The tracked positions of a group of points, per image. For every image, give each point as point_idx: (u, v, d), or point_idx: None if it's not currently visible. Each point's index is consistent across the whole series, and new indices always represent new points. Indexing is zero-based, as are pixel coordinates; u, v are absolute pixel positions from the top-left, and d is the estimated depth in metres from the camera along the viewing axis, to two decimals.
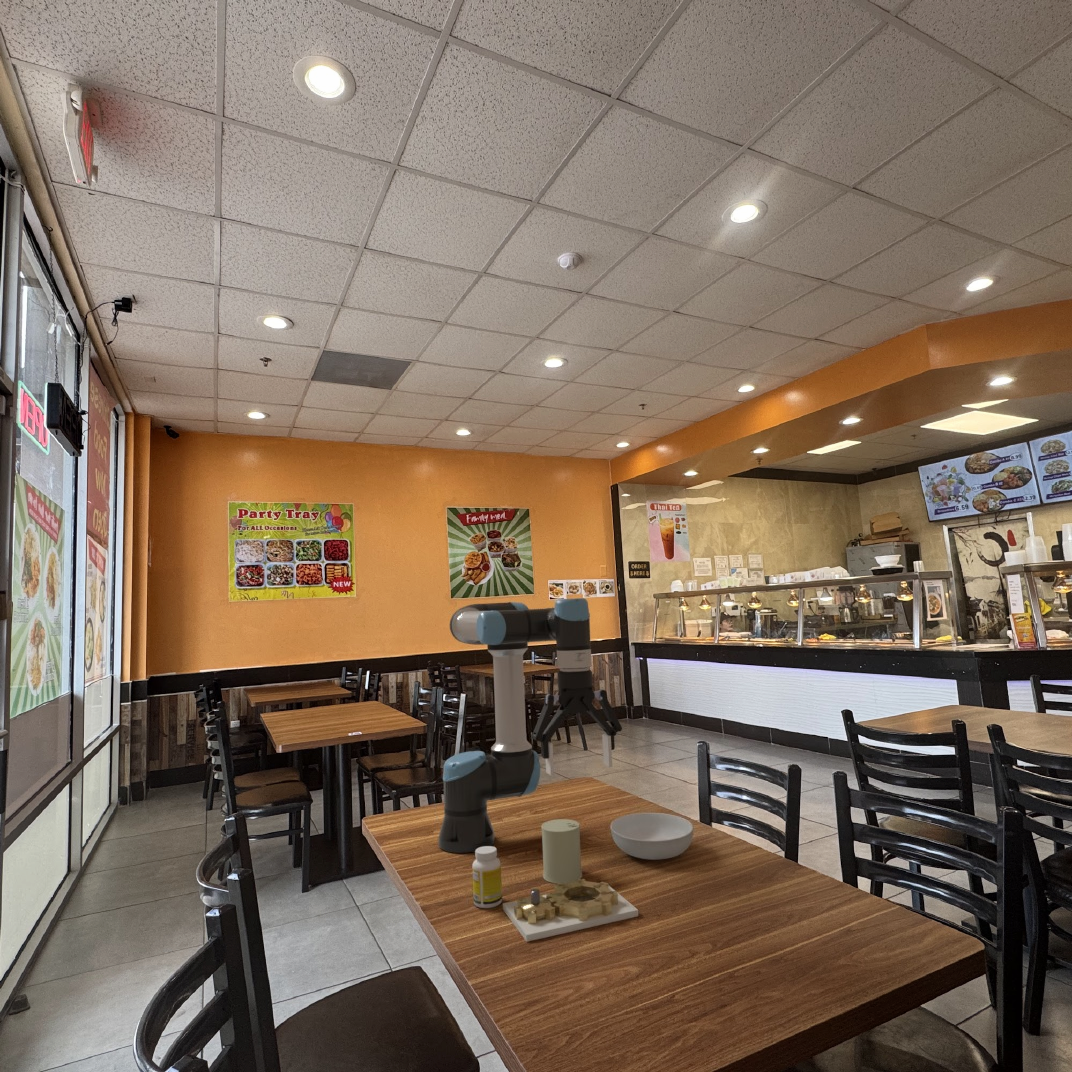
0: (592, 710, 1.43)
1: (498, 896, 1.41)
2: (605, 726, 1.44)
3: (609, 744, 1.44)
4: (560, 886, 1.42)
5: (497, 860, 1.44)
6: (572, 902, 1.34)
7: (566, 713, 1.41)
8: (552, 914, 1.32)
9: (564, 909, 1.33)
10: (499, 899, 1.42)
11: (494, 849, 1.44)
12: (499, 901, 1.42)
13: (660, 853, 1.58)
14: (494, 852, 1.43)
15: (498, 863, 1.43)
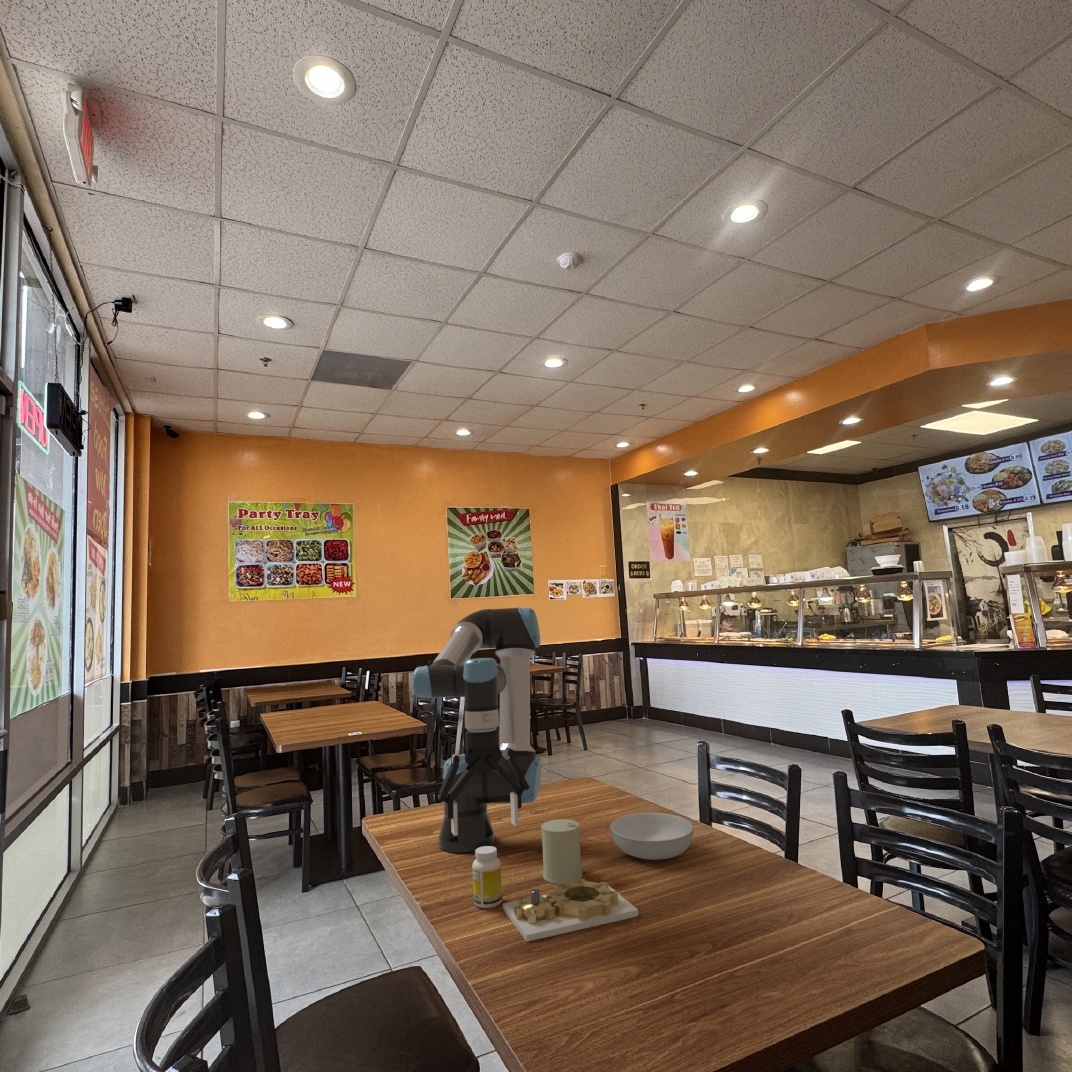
0: (498, 770, 1.46)
1: (498, 896, 1.41)
2: (512, 785, 1.47)
3: (515, 803, 1.46)
4: (560, 886, 1.42)
5: (497, 860, 1.44)
6: (572, 902, 1.34)
7: (471, 773, 1.43)
8: (552, 914, 1.32)
9: (564, 909, 1.33)
10: (499, 899, 1.42)
11: (494, 849, 1.44)
12: (499, 901, 1.42)
13: (660, 853, 1.58)
14: (494, 852, 1.43)
15: (498, 863, 1.43)
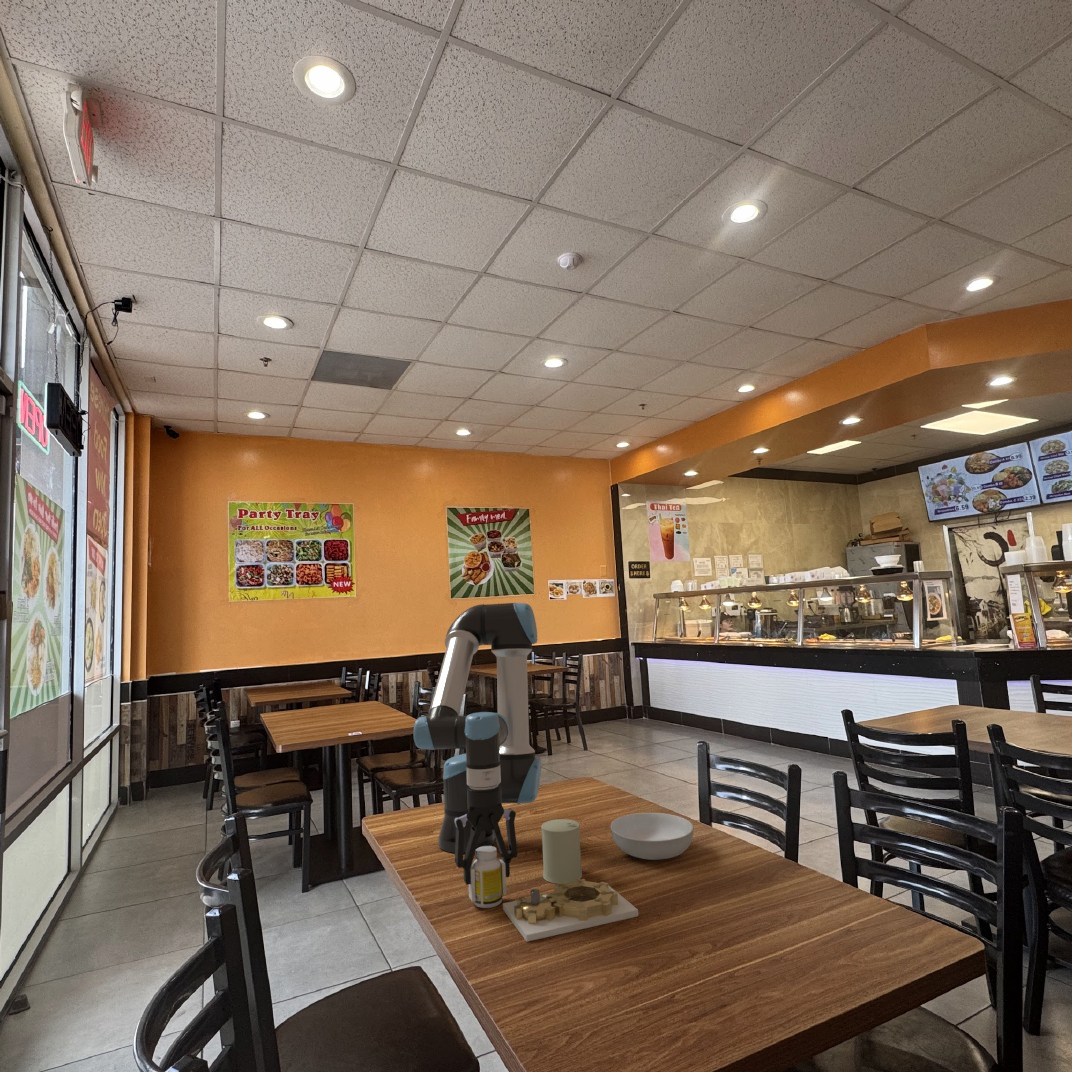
0: (496, 830, 1.44)
1: (498, 896, 1.41)
2: (502, 850, 1.44)
3: (503, 872, 1.44)
4: (560, 886, 1.42)
5: (497, 860, 1.44)
6: (572, 902, 1.34)
7: (478, 833, 1.42)
8: (552, 914, 1.32)
9: (564, 909, 1.33)
10: (499, 899, 1.42)
11: (494, 849, 1.44)
12: (499, 901, 1.42)
13: (660, 853, 1.58)
14: (494, 852, 1.43)
15: (498, 863, 1.43)
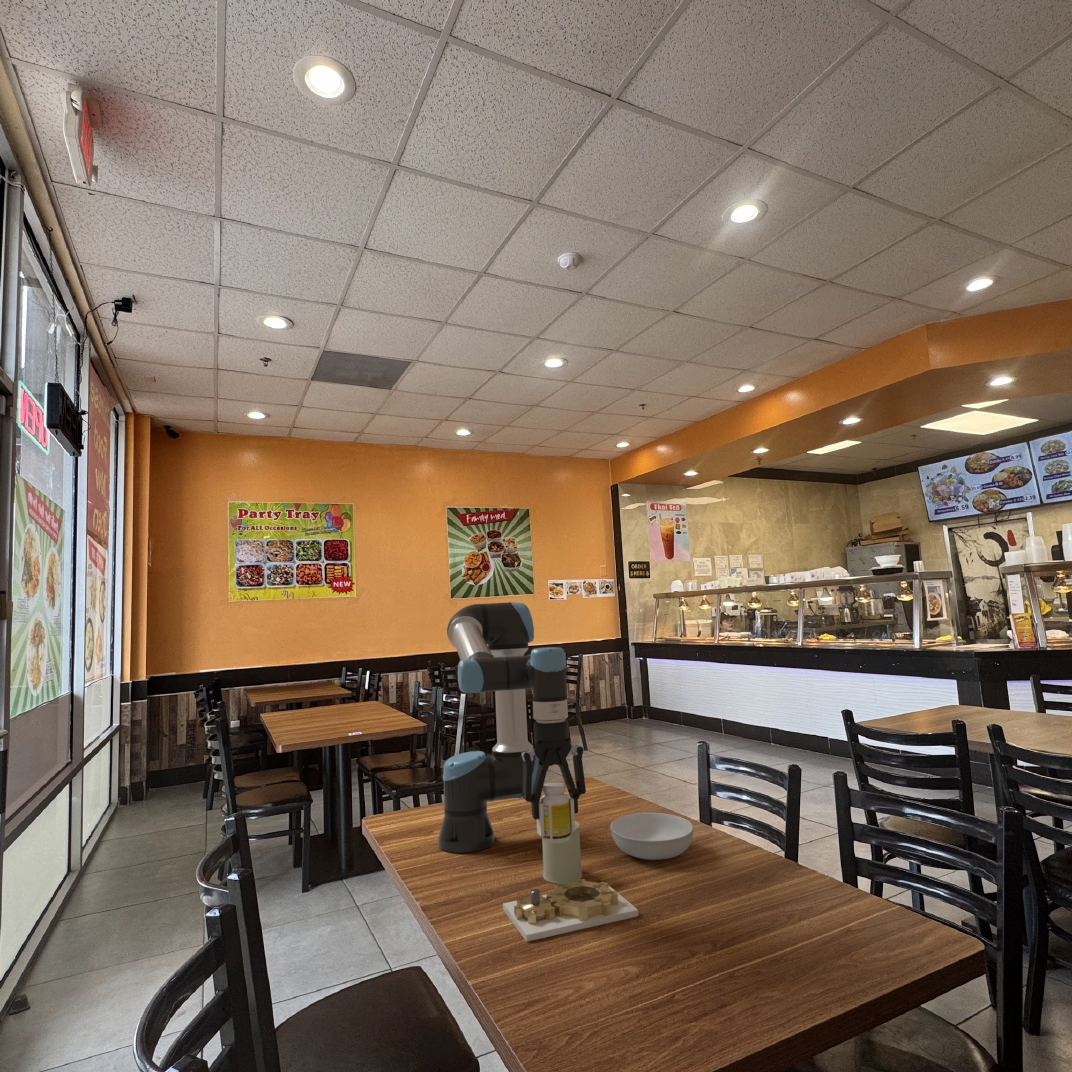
0: (564, 765, 1.41)
1: (567, 831, 1.38)
2: (571, 786, 1.41)
3: (572, 808, 1.41)
4: (560, 886, 1.42)
5: (565, 795, 1.41)
6: (572, 902, 1.34)
7: (546, 767, 1.40)
8: (552, 914, 1.32)
9: (564, 909, 1.33)
10: (568, 835, 1.38)
11: (562, 784, 1.41)
12: (568, 837, 1.38)
13: (660, 853, 1.58)
14: (562, 787, 1.40)
15: (567, 798, 1.40)
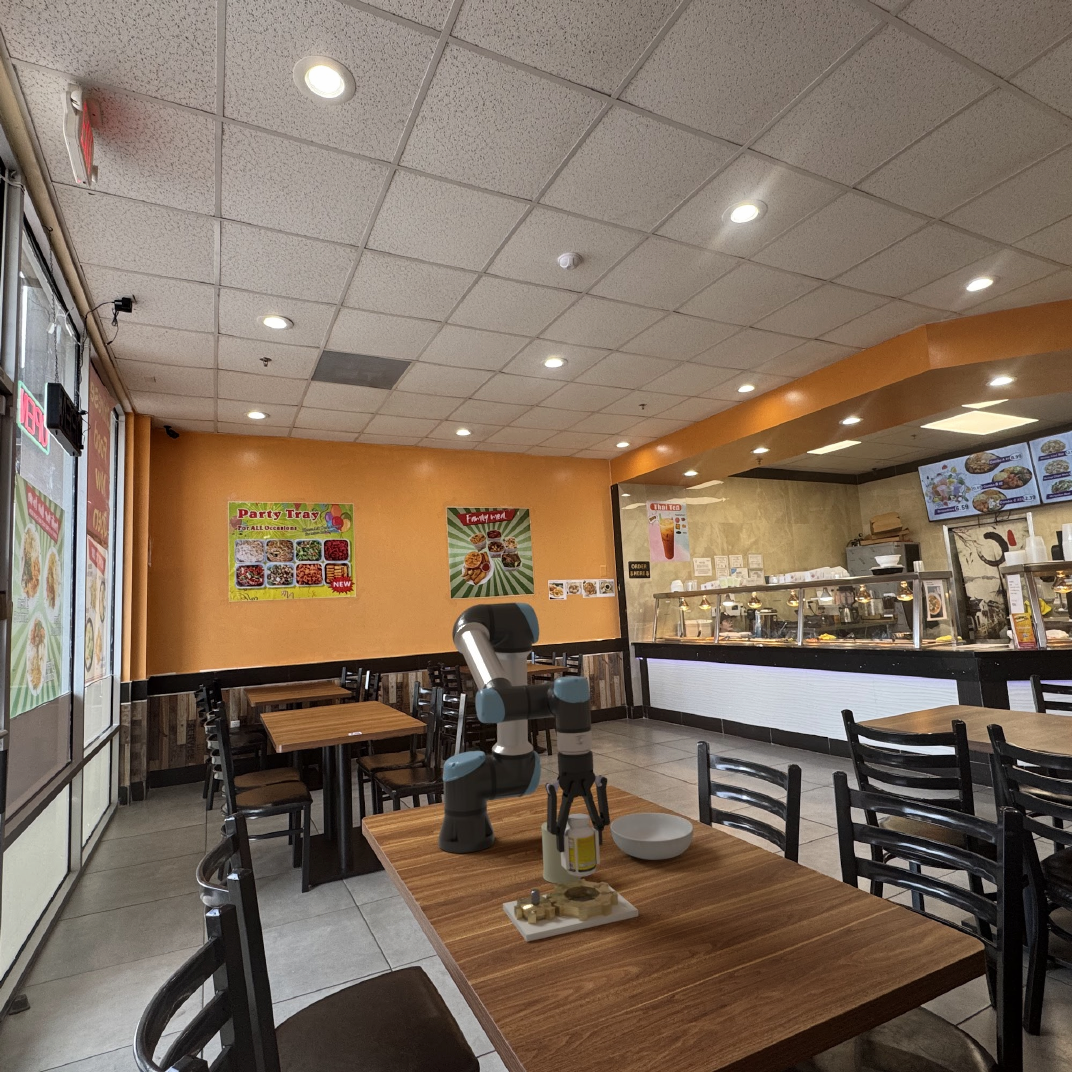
0: (588, 796, 1.39)
1: (592, 864, 1.37)
2: (595, 818, 1.40)
3: (597, 839, 1.39)
4: (560, 886, 1.42)
5: (590, 827, 1.39)
6: (572, 902, 1.34)
7: (571, 799, 1.38)
8: (552, 914, 1.32)
9: (564, 909, 1.33)
10: (594, 867, 1.37)
11: (587, 816, 1.40)
12: (594, 869, 1.37)
13: (660, 853, 1.58)
14: (588, 819, 1.39)
15: (592, 830, 1.39)
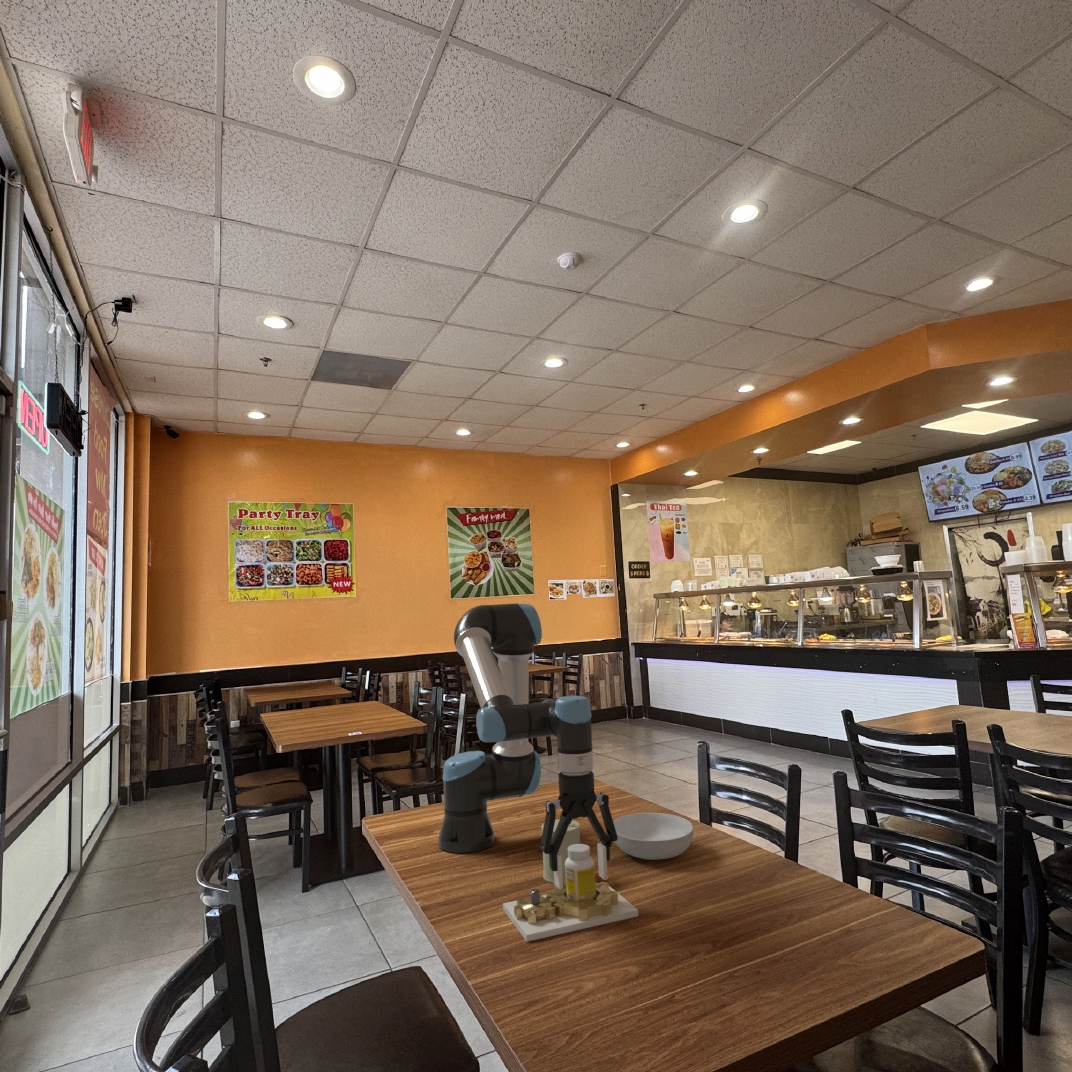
0: (591, 816, 1.39)
1: (593, 896, 1.36)
2: (601, 835, 1.40)
3: (604, 855, 1.40)
4: None
5: (590, 858, 1.39)
6: (572, 902, 1.34)
7: (570, 820, 1.37)
8: (552, 914, 1.32)
9: (564, 909, 1.33)
10: None
11: (587, 847, 1.39)
12: None
13: (660, 853, 1.58)
14: (588, 850, 1.38)
15: (592, 861, 1.38)
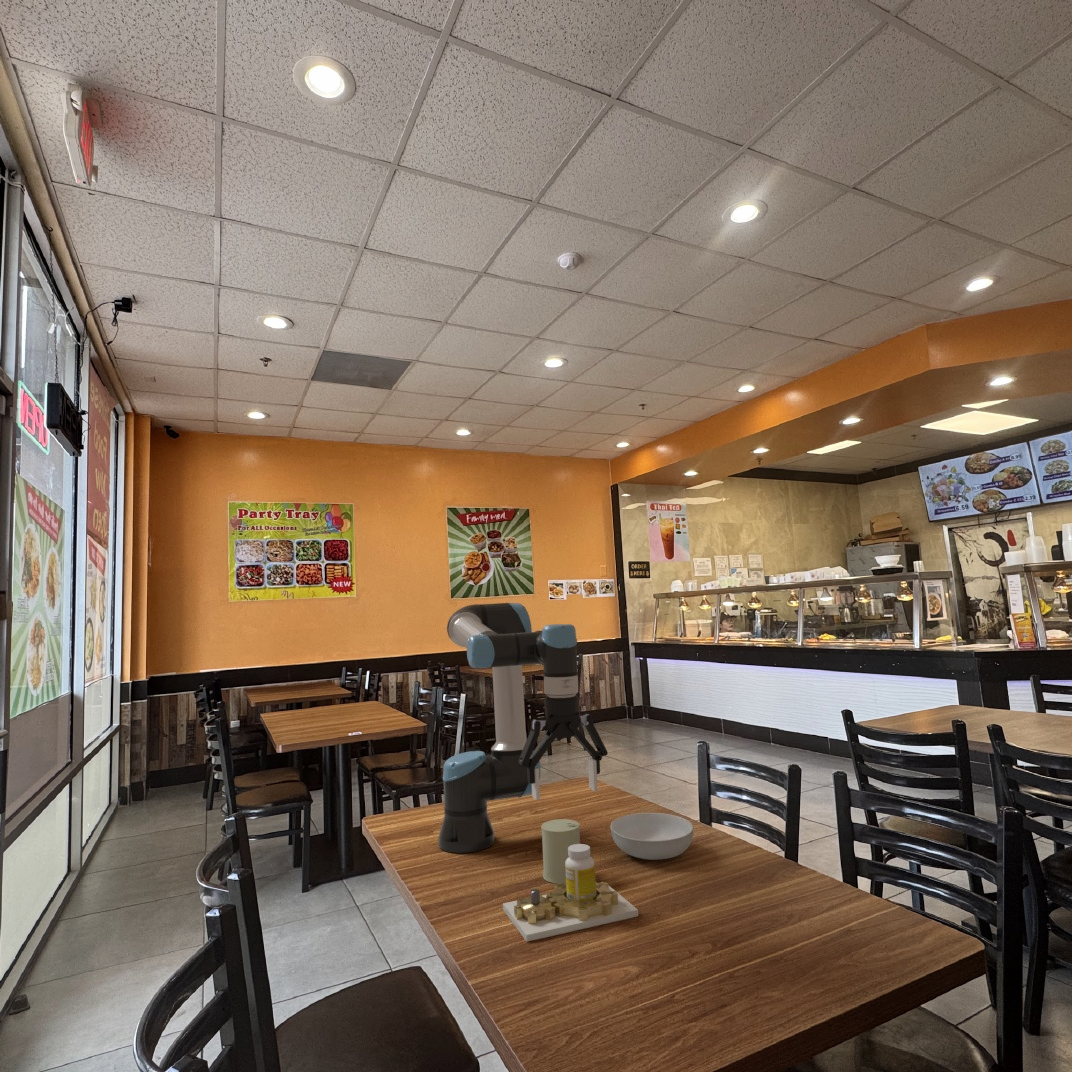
0: (578, 735, 1.45)
1: (593, 896, 1.36)
2: (591, 751, 1.46)
3: (594, 768, 1.46)
4: (560, 886, 1.42)
5: (591, 858, 1.39)
6: (572, 902, 1.34)
7: (552, 739, 1.43)
8: (552, 914, 1.32)
9: (564, 909, 1.33)
10: None
11: (587, 847, 1.39)
12: None
13: (660, 853, 1.58)
14: (588, 850, 1.38)
15: (592, 861, 1.38)
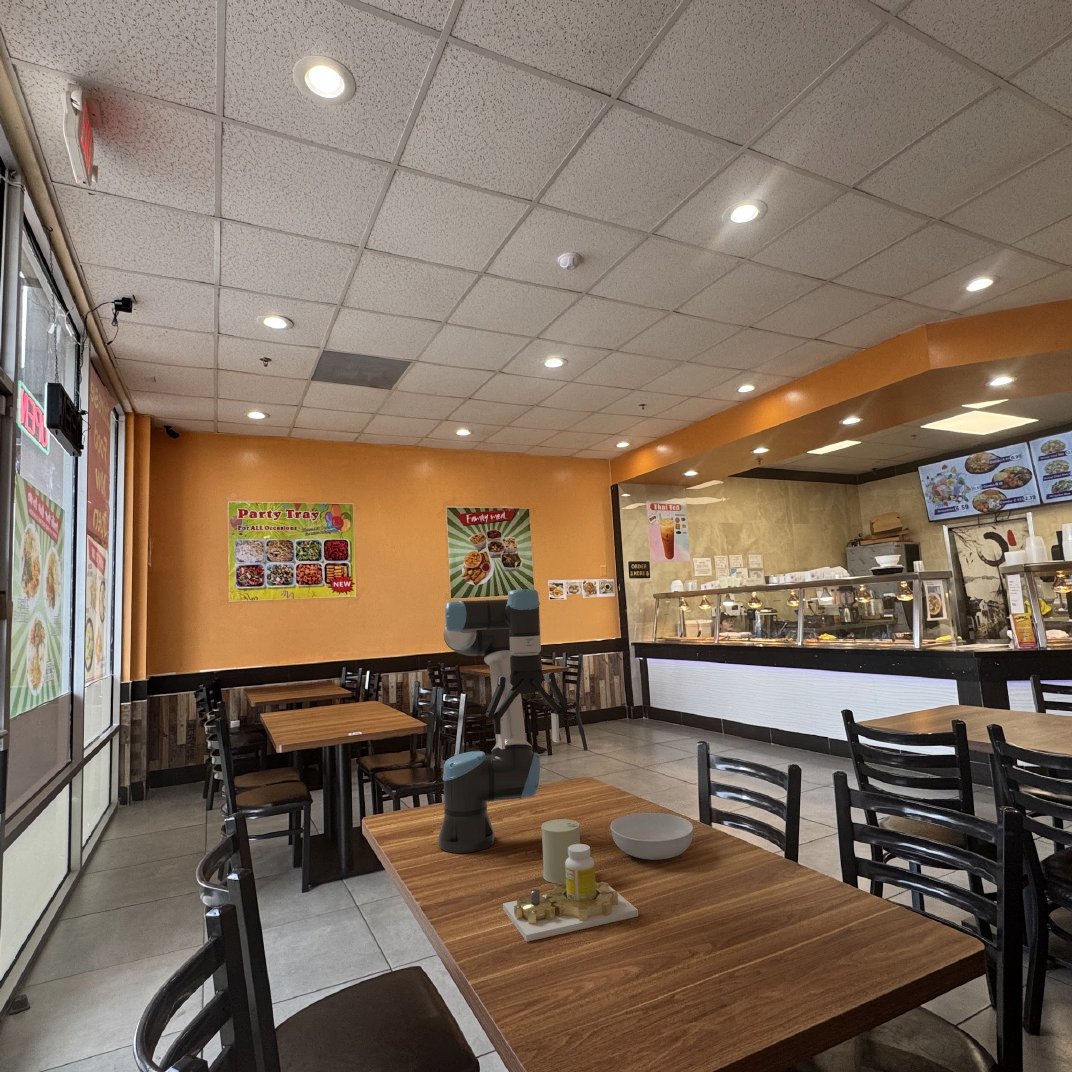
0: (541, 691, 1.57)
1: (593, 896, 1.36)
2: (553, 705, 1.59)
3: (557, 722, 1.58)
4: (560, 886, 1.42)
5: (591, 858, 1.39)
6: (572, 902, 1.34)
7: (516, 693, 1.55)
8: (552, 914, 1.32)
9: (564, 909, 1.33)
10: None
11: (587, 847, 1.39)
12: None
13: (660, 853, 1.58)
14: (588, 850, 1.38)
15: (592, 861, 1.38)
